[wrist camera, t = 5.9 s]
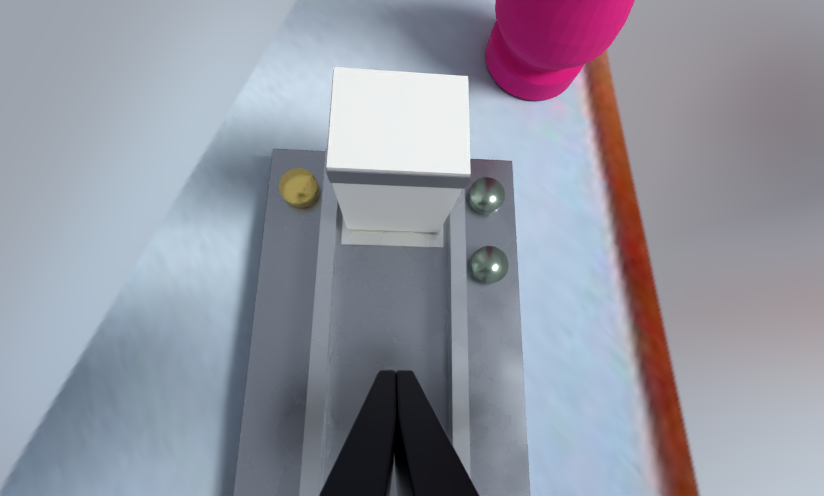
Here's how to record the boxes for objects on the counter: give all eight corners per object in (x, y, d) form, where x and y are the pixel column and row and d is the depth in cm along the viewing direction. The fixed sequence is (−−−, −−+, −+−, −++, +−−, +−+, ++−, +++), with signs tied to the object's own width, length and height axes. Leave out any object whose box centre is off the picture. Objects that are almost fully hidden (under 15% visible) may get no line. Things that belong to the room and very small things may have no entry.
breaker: (439, 233, 20) (472, 175, 13) (346, 230, 20) (324, 168, 12) (439, 165, 21) (469, 74, 14) (350, 160, 21) (332, 65, 13)
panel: (525, 538, 18) (544, 565, 16) (234, 546, 17) (213, 576, 15) (506, 168, 23) (519, 150, 21) (277, 157, 22) (266, 137, 20)
